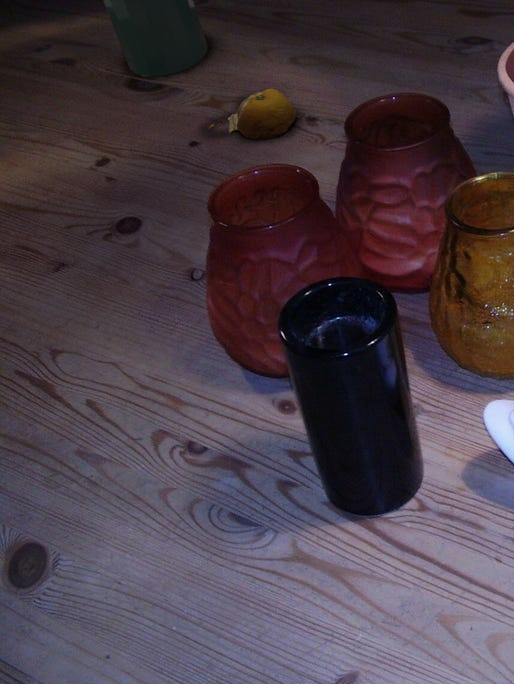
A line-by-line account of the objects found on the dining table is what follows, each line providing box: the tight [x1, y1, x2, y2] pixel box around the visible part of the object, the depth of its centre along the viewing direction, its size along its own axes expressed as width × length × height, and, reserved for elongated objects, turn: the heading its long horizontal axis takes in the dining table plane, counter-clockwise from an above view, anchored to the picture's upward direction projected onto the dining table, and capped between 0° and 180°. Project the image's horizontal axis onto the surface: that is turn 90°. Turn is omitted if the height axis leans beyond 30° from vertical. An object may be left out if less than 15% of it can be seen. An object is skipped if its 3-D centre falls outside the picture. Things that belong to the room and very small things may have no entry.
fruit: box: [207, 87, 297, 141], centre depth 99 cm, size 8×8×4 cm
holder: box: [102, 0, 209, 78], centre depth 108 cm, size 9×9×10 cm
